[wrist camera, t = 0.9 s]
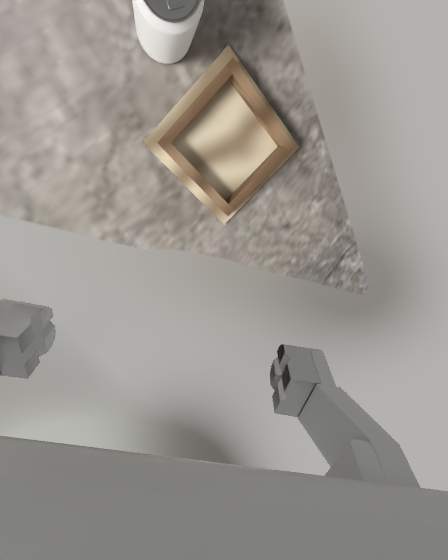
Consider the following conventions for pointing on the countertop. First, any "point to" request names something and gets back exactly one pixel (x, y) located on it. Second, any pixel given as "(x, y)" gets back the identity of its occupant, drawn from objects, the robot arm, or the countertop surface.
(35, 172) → the countertop surface
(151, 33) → the can
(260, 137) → the wooden serving tray
